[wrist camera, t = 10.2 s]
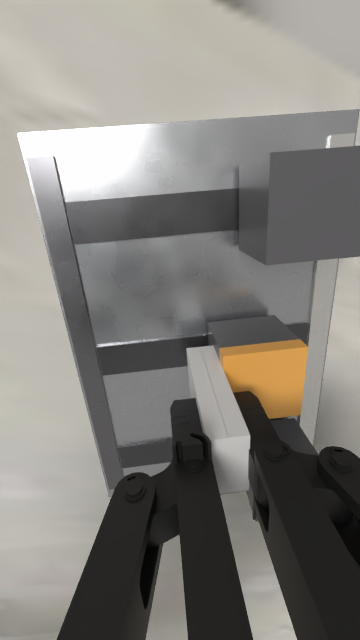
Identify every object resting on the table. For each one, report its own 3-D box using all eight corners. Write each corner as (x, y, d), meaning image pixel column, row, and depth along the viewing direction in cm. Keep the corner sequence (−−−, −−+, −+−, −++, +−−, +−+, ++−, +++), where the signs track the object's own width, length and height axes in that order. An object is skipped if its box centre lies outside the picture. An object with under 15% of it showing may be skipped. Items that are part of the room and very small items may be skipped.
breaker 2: (238, 466, 22) (255, 521, 18) (238, 425, 20) (257, 475, 16) (290, 459, 22) (318, 512, 18) (294, 417, 20) (325, 466, 17)
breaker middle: (210, 379, 18) (224, 424, 15) (207, 322, 17) (223, 356, 13) (271, 372, 19) (300, 415, 15) (274, 314, 17) (308, 346, 13)
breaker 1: (238, 249, 15) (266, 265, 12) (239, 164, 14) (270, 152, 10) (311, 242, 16) (361, 256, 12) (319, 158, 14) (379, 144, 10)
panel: (111, 479, 24) (108, 499, 22) (30, 139, 14) (15, 132, 13) (301, 454, 25) (311, 471, 23) (340, 117, 15) (362, 107, 14)
